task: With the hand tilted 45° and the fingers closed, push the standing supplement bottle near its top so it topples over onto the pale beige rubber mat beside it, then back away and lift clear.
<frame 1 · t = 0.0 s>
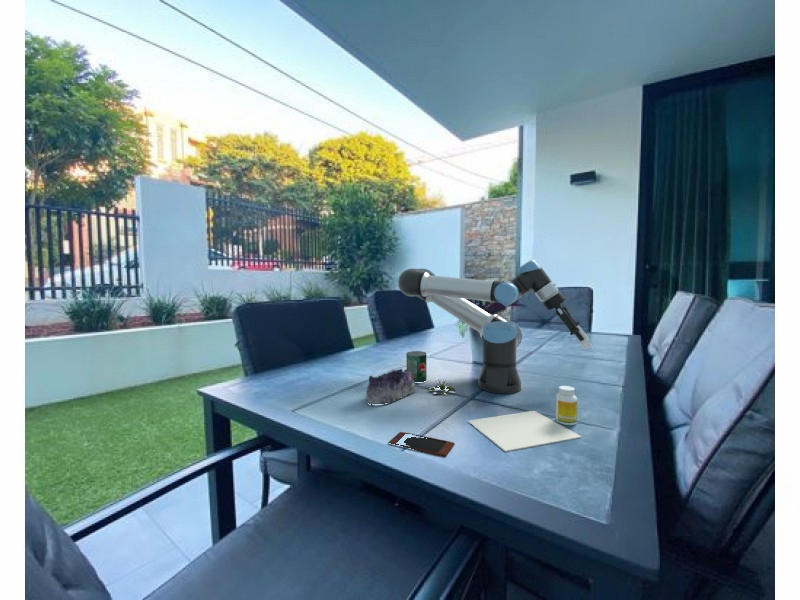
hand: (587, 344, 127), 15 cm above the table, fingers open, 13 cm apart
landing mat: (521, 429, 93), on the table
supplement bottle: (566, 422, 97), on the table
geode: (390, 398, 119), on the table
lily flower: (441, 392, 125), on the table
canned tomato: (416, 381, 138), on the table
smartphone: (421, 446, 86), on the table
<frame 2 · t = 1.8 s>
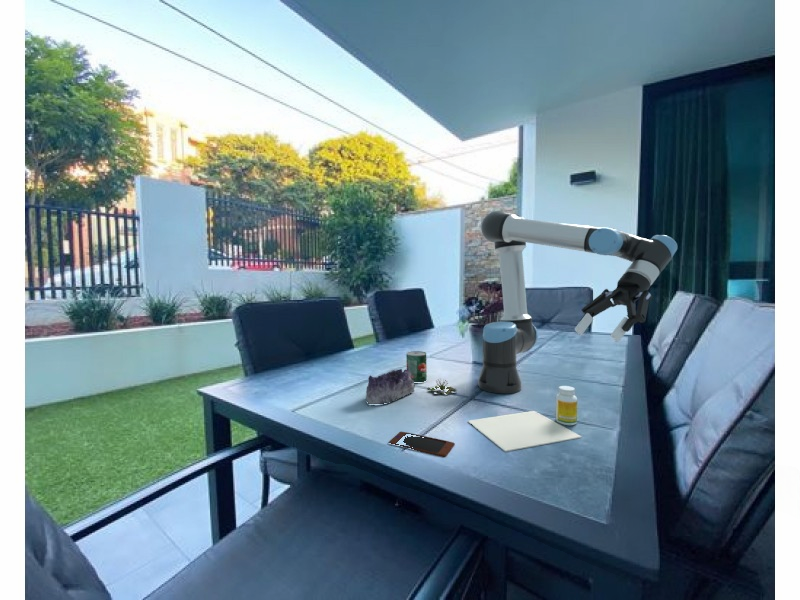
hand: (594, 335, 99), 23 cm above the table, fingers open, 12 cm apart
nothing on the table moved.
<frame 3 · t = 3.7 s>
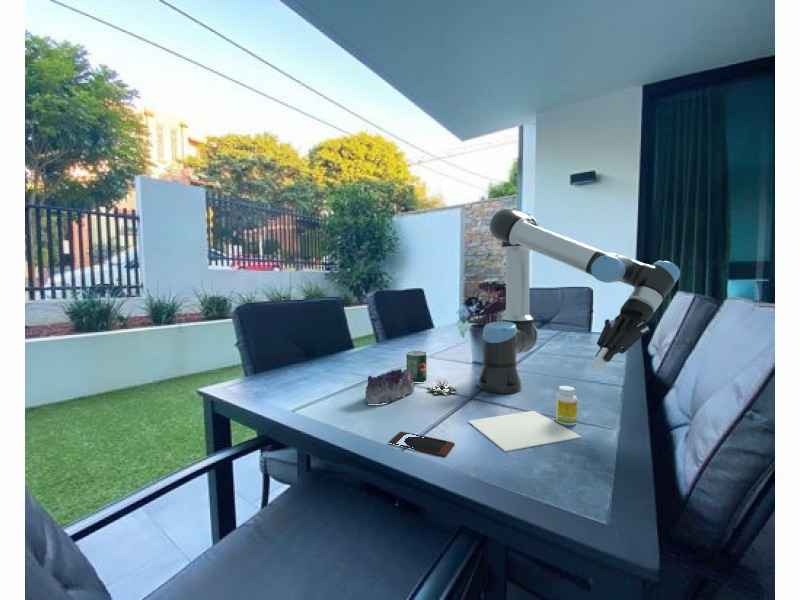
hand: (594, 368, 98), 14 cm above the table, fingers closed
nothing on the table moved.
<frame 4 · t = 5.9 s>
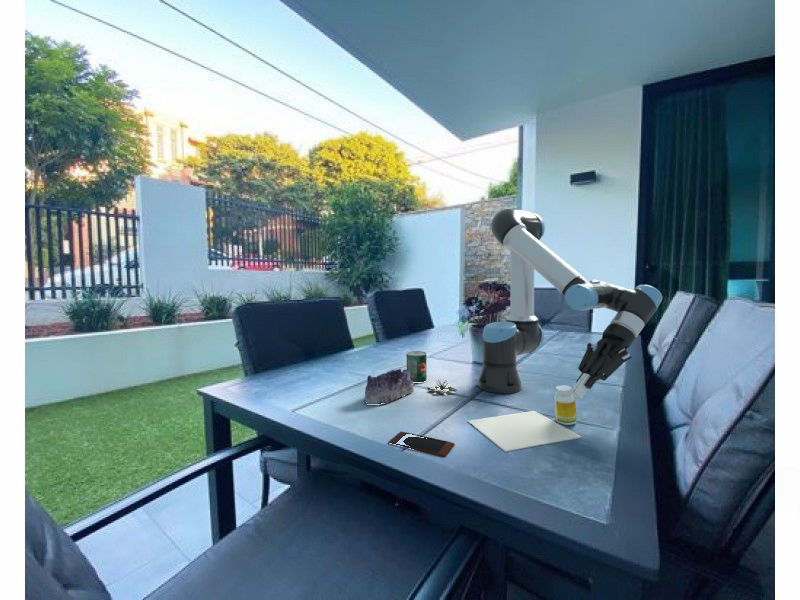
hand: (575, 395, 97), 8 cm above the table, fingers closed
supplement bottle: (566, 421, 97), on the table, touching gripper
everything else where it was.
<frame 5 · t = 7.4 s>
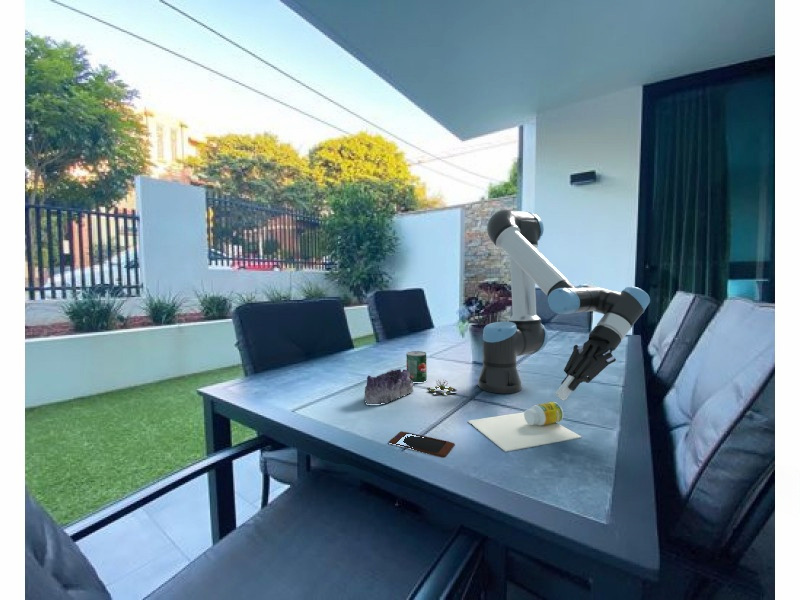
hand: (559, 397, 96), 7 cm above the table, fingers closed
supplement bottle: (557, 411, 97), point 3 cm above the table, touching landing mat
everything else where it was.
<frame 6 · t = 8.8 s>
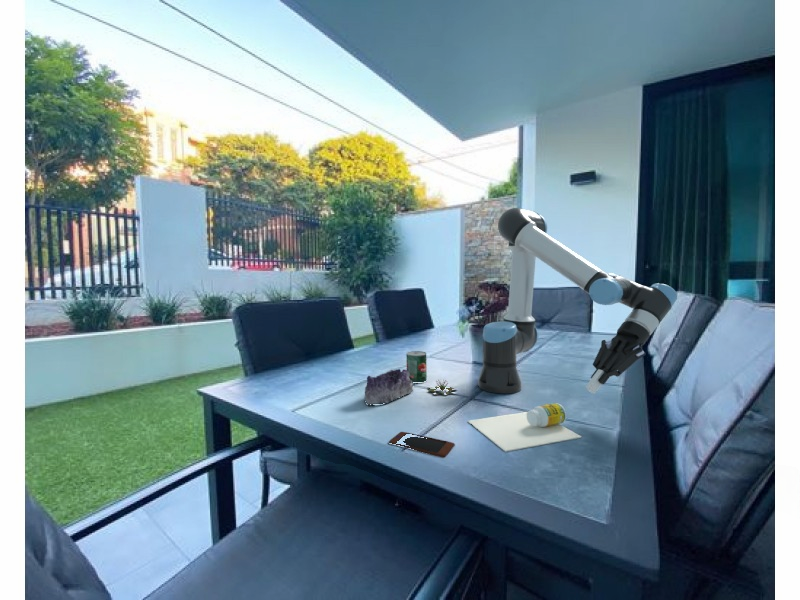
hand: (590, 390, 99), 8 cm above the table, fingers closed
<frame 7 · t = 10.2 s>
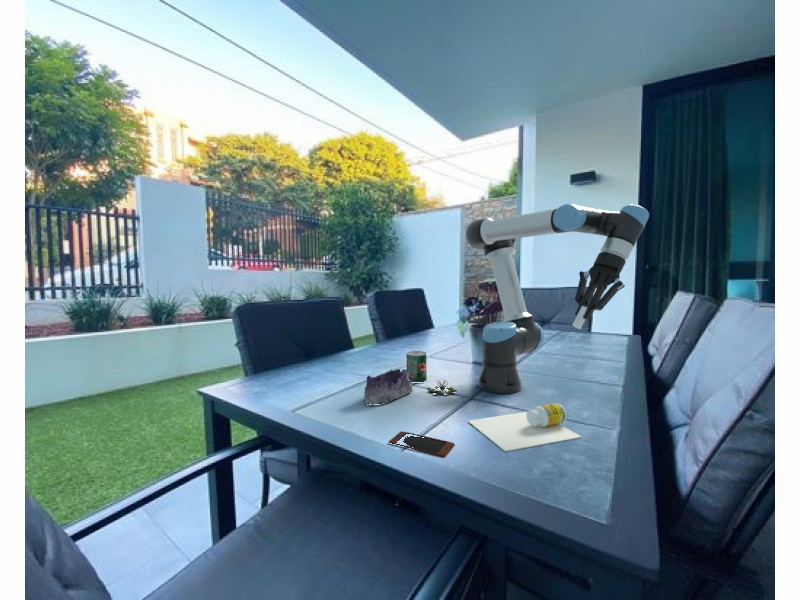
hand: (576, 327, 105), 25 cm above the table, fingers closed
nothing on the table moved.
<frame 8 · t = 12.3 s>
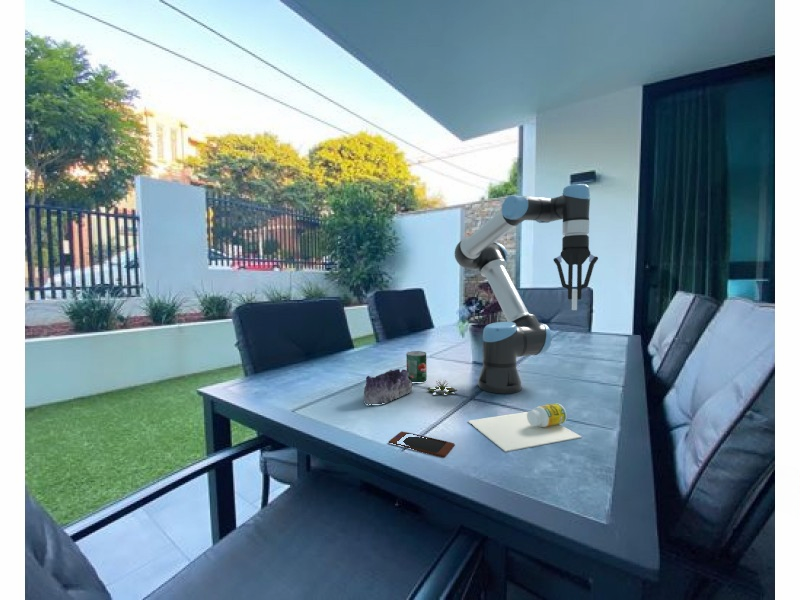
hand: (574, 309, 113), 29 cm above the table, fingers closed
at the end: supplement bottle tilted 90°; supplement bottle touching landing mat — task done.
